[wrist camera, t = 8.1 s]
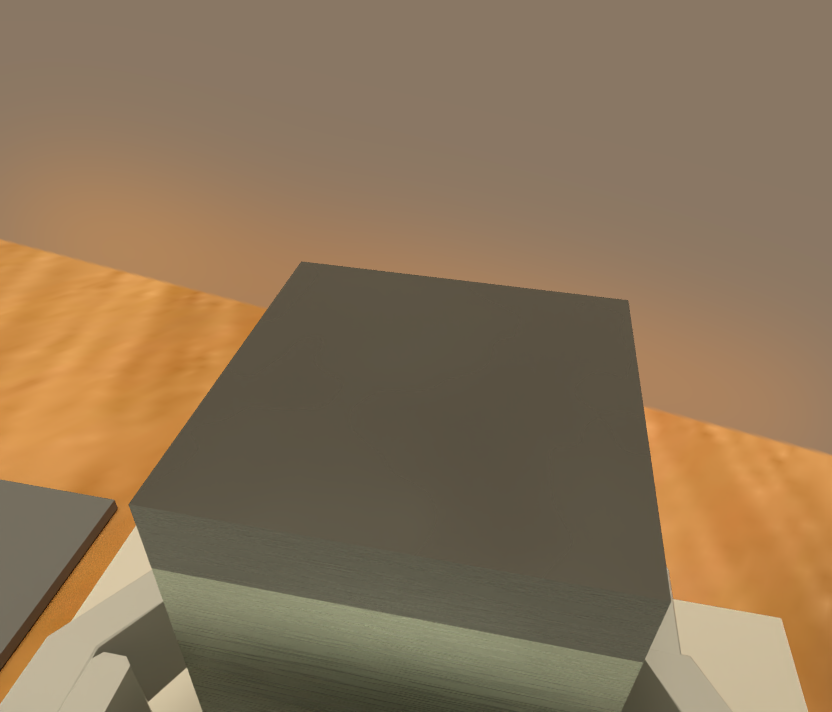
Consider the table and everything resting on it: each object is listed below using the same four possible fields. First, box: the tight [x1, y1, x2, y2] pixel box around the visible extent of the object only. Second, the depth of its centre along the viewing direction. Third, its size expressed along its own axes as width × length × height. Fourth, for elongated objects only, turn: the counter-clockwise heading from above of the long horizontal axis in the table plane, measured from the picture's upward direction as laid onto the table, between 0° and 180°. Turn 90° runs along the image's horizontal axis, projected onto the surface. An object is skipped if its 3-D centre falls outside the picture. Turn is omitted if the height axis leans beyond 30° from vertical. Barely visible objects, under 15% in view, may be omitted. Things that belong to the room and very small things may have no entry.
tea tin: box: [129, 262, 671, 712], centre depth 11 cm, size 5×5×12 cm
